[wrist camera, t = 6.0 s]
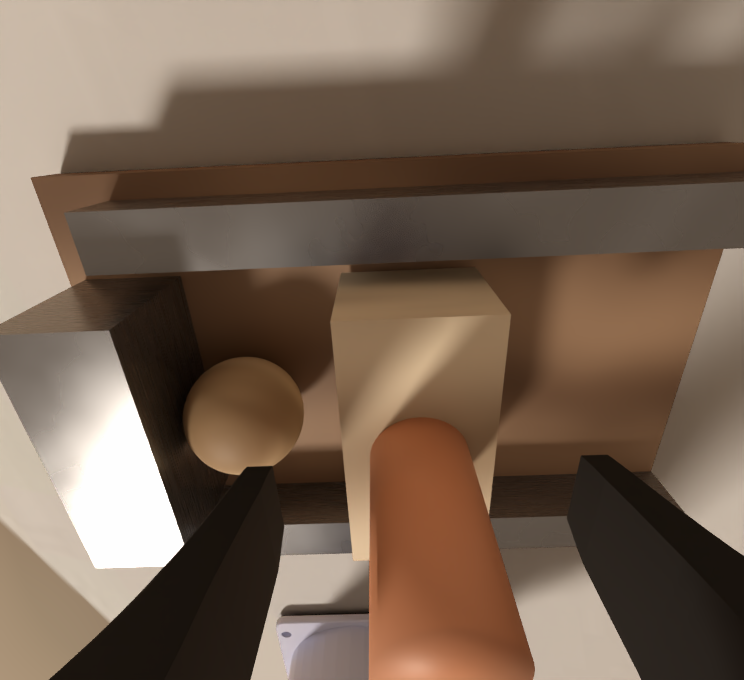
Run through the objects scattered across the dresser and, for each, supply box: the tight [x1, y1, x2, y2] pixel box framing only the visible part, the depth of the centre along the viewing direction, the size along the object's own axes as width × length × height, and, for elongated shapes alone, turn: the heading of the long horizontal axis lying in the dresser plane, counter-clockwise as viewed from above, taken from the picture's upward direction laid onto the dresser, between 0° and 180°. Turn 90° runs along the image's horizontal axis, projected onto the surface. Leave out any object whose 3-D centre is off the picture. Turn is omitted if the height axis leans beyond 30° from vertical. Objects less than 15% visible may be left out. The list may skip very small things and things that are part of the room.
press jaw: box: [330, 267, 535, 680], centre depth 11 cm, size 8×4×9 cm, turn 2°
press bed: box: [0, 142, 744, 568], centre depth 14 cm, size 14×20×5 cm
